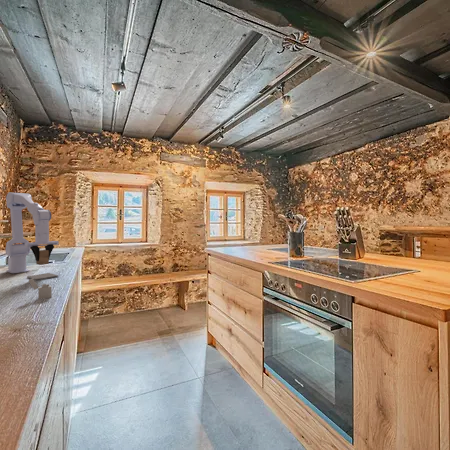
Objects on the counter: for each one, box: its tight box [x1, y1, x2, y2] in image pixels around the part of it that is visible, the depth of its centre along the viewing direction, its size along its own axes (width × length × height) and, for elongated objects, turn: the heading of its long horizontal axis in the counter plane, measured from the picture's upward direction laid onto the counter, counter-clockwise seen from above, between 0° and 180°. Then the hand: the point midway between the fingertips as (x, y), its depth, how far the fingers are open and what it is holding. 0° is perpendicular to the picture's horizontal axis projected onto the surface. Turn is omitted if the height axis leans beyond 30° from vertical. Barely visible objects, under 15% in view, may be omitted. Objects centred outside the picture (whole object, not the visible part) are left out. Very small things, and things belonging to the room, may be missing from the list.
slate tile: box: [26, 272, 59, 282], centre depth 134 cm, size 10×10×1 cm
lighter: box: [28, 278, 53, 300], centre depth 101 cm, size 7×2×8 cm, turn 121°
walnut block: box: [35, 249, 50, 266], centre depth 133 cm, size 4×4×7 cm
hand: (42, 260), depth 133 cm, fingers closed on walnut block, 4 cm apart
